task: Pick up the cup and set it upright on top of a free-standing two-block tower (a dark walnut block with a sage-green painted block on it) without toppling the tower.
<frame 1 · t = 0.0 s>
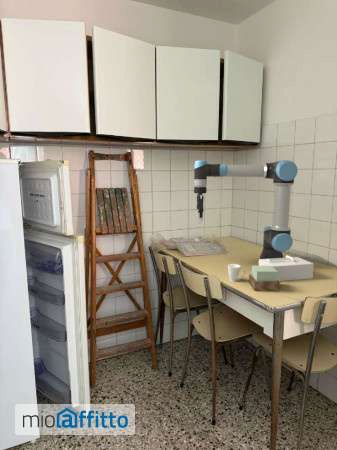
hand: (199, 221, 188), 28 cm above the table, fingers open, 13 cm apart
elongated white prism: (284, 276, 174), on the table
sage block: (264, 278, 156), point 5 cm above the table
cup: (235, 280, 167), on the table
walnut block: (263, 287, 157), on the table
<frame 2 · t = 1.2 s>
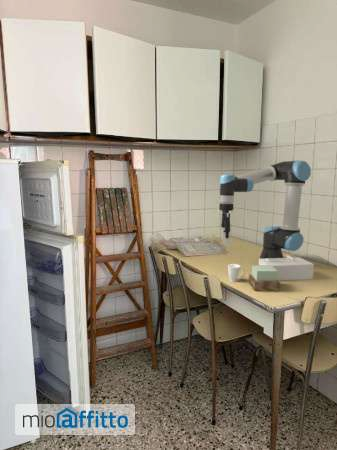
hand: (224, 241, 171), 20 cm above the table, fingers open, 13 cm apart
sage block: (263, 277, 156), point 5 cm above the table, touching walnut block
walnut block: (263, 287, 156), on the table, touching sage block
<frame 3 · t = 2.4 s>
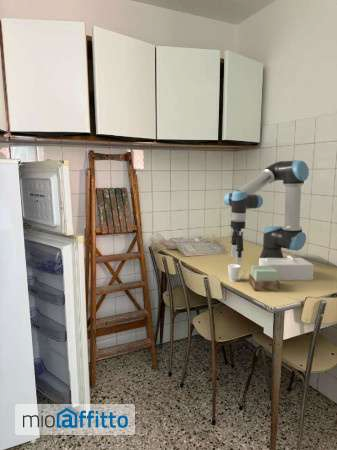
hand: (236, 259, 165), 11 cm above the table, fingers open, 13 cm apart
sage block: (263, 277, 156), point 5 cm above the table
walnut block: (263, 287, 156), on the table
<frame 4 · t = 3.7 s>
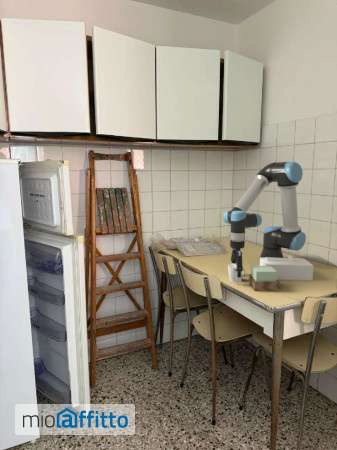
hand: (235, 278, 166), 1 cm above the table, fingers open, 13 cm apart
sage block: (263, 278, 156), point 5 cm above the table, touching walnut block
walnut block: (263, 287, 156), on the table, touching sage block
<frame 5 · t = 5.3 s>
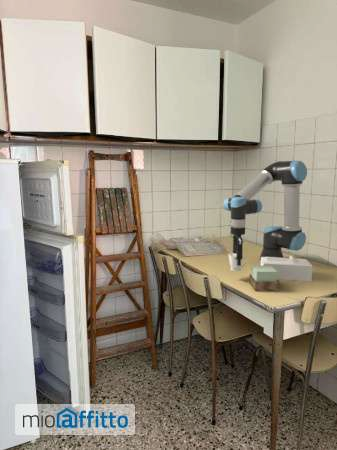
hand: (237, 268, 166), 6 cm above the table, fingers closed on cup, 6 cm apart
cup: (237, 269, 166), point 6 cm above the table, touching gripper
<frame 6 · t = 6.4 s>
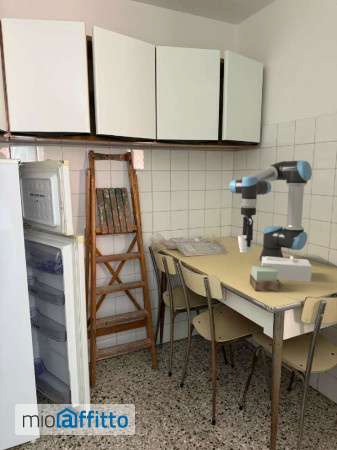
hand: (246, 251, 160), 17 cm above the table, fingers closed on cup, 6 cm apart
cup: (246, 251, 160), point 16 cm above the table, touching gripper
when the fingers open (10 cm above the table, at t = 8.9 s): cup moves 2 cm, point 9 cm above the table.
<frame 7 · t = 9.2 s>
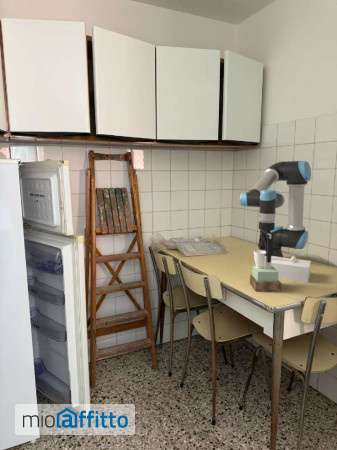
hand: (264, 265, 155), 11 cm above the table, fingers open, 10 cm apart
cup: (262, 267, 157), point 9 cm above the table, touching gripper
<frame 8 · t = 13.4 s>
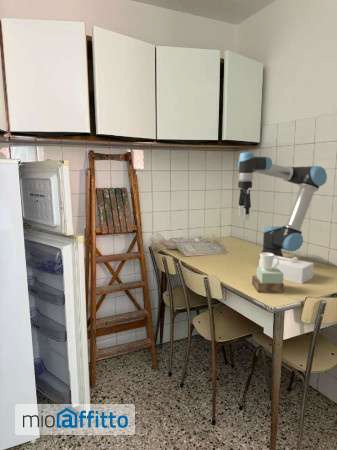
hand: (243, 218, 175), 32 cm above the table, fingers open, 13 cm apart
sage block: (269, 280, 153), point 5 cm above the table, touching cup, walnut block
cup: (268, 270, 153), point 9 cm above the table, touching sage block
walnut block: (266, 289, 154), on the table, touching sage block
at the end: cup inside the target area on the walnut block (0.7 cm from its centre), point 9.8 cm above the walnut block's base; cup tilted 0°; sage block 1.0 cm off-centre on the walnut block, point 5.0 cm above the walnut block's base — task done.
